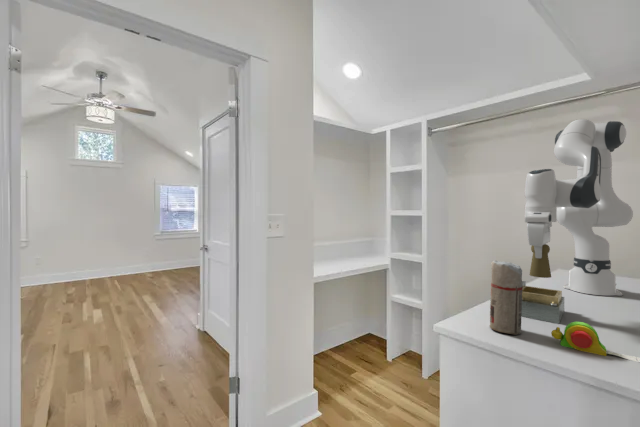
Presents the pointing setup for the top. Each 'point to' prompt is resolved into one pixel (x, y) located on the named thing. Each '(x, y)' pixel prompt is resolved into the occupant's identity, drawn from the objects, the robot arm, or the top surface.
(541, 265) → the cork
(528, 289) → the grey wooden box
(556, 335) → the toy measuring tape
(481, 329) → the top surface
